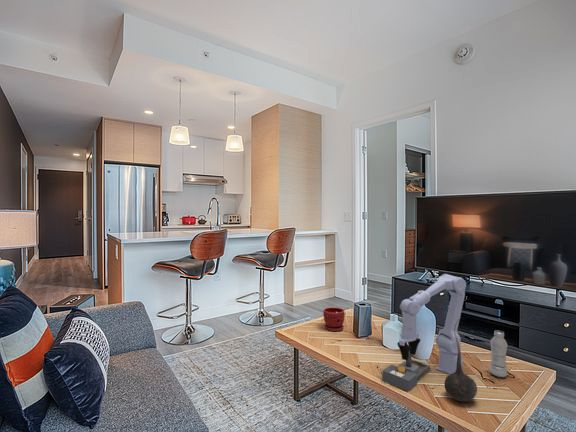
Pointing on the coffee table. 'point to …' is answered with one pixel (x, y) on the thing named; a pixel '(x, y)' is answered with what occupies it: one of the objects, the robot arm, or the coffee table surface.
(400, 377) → the grey open box
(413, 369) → the carriage
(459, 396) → the radish
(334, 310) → the plant pot
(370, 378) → the coffee table surface
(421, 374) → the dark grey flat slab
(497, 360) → the plastic bottle
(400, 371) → the button
